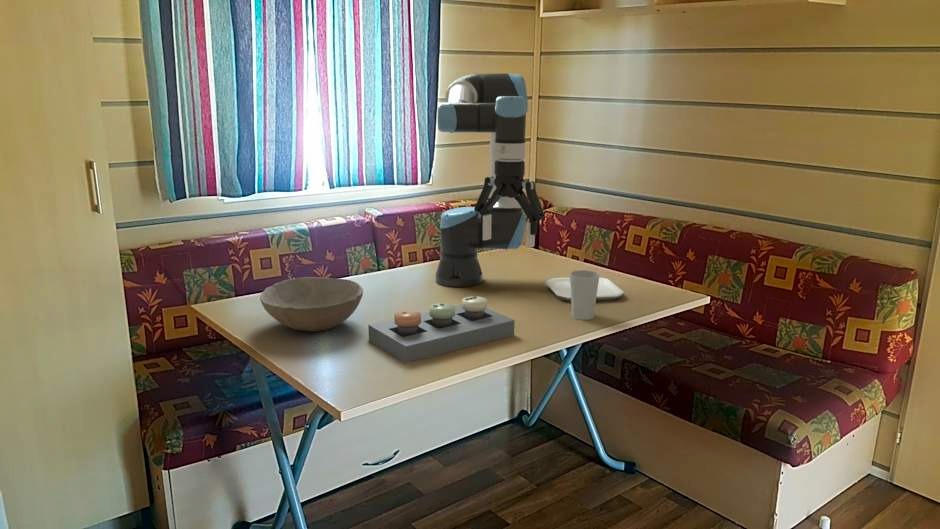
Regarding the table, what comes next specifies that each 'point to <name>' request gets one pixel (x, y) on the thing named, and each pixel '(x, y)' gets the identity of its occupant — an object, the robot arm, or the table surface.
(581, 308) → the cup
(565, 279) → the plate
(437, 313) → the button two
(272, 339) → the table surface
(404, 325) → the button one
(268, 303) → the bowl
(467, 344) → the console
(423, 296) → the table surface
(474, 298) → the button three
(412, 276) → the table surface
